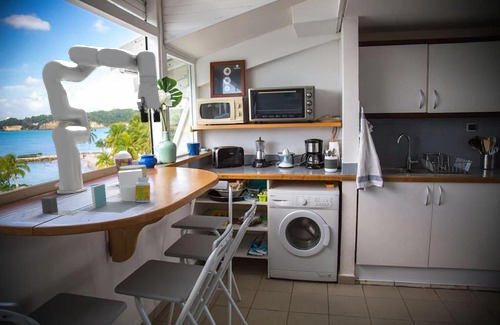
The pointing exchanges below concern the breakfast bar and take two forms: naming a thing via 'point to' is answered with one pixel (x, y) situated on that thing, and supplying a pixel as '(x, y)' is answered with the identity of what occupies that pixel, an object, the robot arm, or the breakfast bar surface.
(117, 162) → the smoothie
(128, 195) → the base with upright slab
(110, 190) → the breakfast bar surface
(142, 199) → the supplement bottle
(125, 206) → the mat
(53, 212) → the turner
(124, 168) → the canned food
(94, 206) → the tile
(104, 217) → the breakfast bar surface
